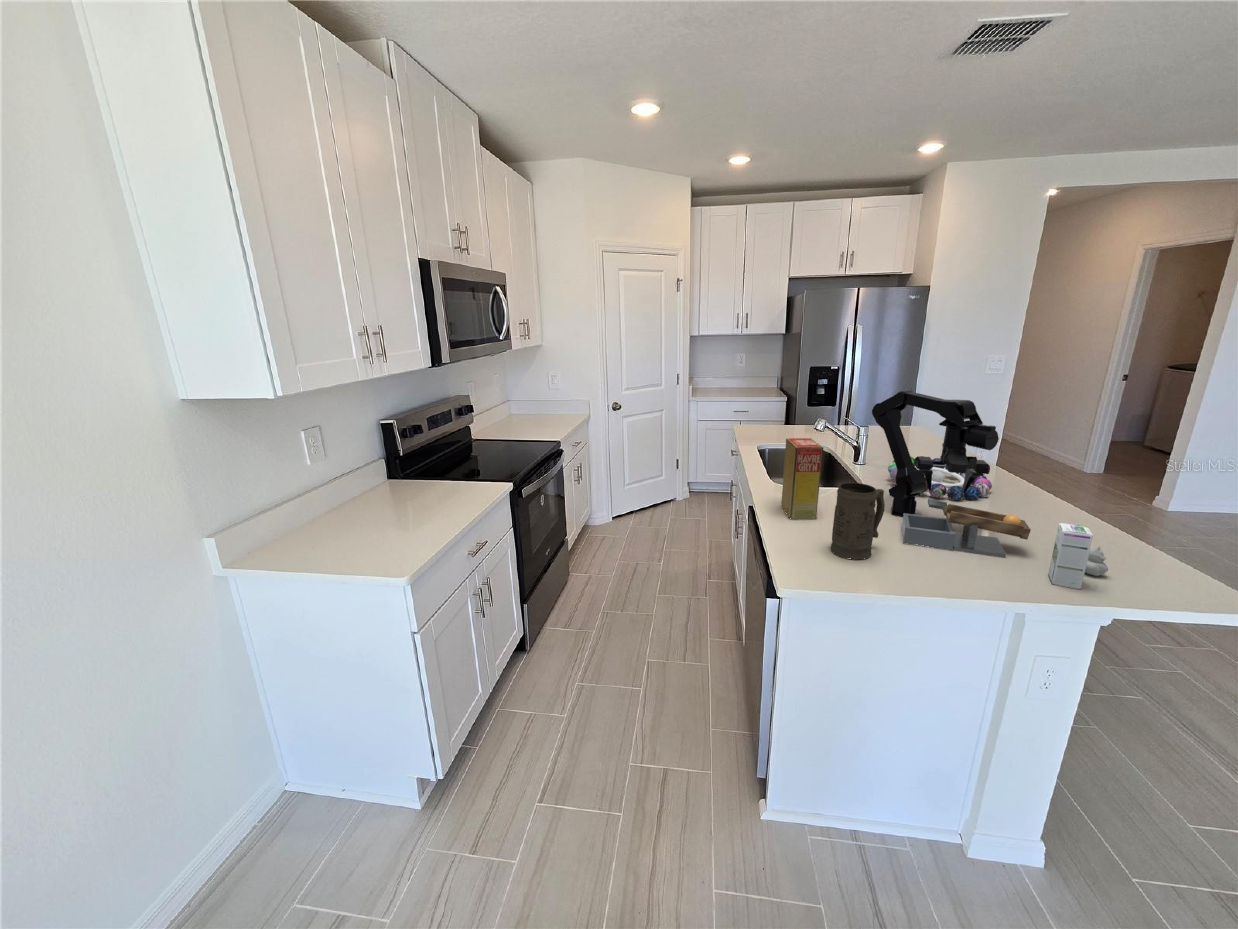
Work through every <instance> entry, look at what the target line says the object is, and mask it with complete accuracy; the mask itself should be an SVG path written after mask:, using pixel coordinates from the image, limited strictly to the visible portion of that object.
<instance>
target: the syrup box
mask: <svg viewBox="0 0 1238 929" xmlns="http://www.w3.org/2000/svg"><path fill="white" fill-rule="evenodd" d="M1056 531H1057V532H1056V535H1055V536H1056V537H1055V540H1054V545H1053V550H1052V555H1051V559H1050V564H1049V568H1048V574H1047V575H1048V578H1049V580H1050V583H1051V584H1052V585H1056V586H1060V587H1065V588H1069V589H1070V588H1071V589H1076V590H1081V589H1082V585H1083V582H1084V578H1085V574H1086V573H1085V569H1086V565H1087V560H1088V556H1089V551H1090V550H1091V545H1092V541H1093V537H1094V535H1093V533H1092V531H1091V530H1090V529H1089V527H1088V526H1086V525H1079V524H1074V523H1073V524H1072V523H1062V522H1058V527H1057V530H1056Z"/></svg>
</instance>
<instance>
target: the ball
mask: <svg viewBox="0 0 1238 929" xmlns="http://www.w3.org/2000/svg"><path fill="white" fill-rule="evenodd" d="M1006 515H1007V514H1006ZM1021 520H1022V519H1020V517H1019V516H1017V515H1014V514H1008V515H1007V516H1005V517H1004V519H1003V522H1008V523H1013V524H1018V525H1020V524H1021Z"/></svg>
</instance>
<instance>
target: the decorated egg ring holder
mask: <svg viewBox="0 0 1238 929" xmlns="http://www.w3.org/2000/svg"><path fill="white" fill-rule="evenodd" d="M910 457H911V460H912V463H913V465H914V461H915V458H914V457H913V456H912V455H910ZM921 457H925V456H923V455H921ZM932 460H934V461H940V460H941V459H940V457H936V458H933V459H932ZM888 464H889V463H888ZM914 467H915V468H916V466H915V465H914ZM918 470H920V469H918ZM931 470H932V471H933V473H932V483H931V490H928V486H927V482H926V487H925V489H924V491H922V492H921V494H923V493H926V492H927V491H928V493H929V494H930V496H931V497H933V498H936V499H941V498H943V497H945V496H946V495H947V498H949V499H950V500H951V501H960V500H962V499H963V498H964V500H967V501H975V500H977V499H979V498H980V499H981V498H985V497H987V496H988V495H989V494H990V491H991V489H992V488H993V483H992V482H991V481H990V480H989V479H988V477H987V476H986V474H984V475H983V476H979V477H977V478H976V479H975V480H974V481H973V482H972V483H971V485H970V486H969V488H968V489H967V491H966V492H965V493H963V484H964V479H965V475H966V473H958V472H954V473H951V472H949V471H948V470H947V467H933V468H932V469H931ZM887 471H888V473H889V476H890V478H891V479H892V480H893V481H895V482H896V474H897V467H896V464H895V461H894V460H893V461H892V462H891V463H890V464H889V465H887ZM945 475H948V476H951V477H953V478H955V479H957V480H958V481H959V482H957V483H945V482H944V481H945V478H946V477H945Z"/></svg>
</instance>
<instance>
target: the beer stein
mask: <svg viewBox="0 0 1238 929" xmlns="http://www.w3.org/2000/svg"><path fill="white" fill-rule="evenodd" d="M836 494H837V496H836V504H835V507H834V514H833V515H834V516H833V522H832V523H833V524H832V526H833V527H832V532H831V544H830V551H831V552H832V553H833V552H834V553H835V554H834V553H833V554H834V555H836V556H838V555H839V556H838V557H840V556H841V558H843V557H844V558H843V559H846V558H851V559H850V560H853V559H862V560H865V559H864V558H867V559H869V558H870V557H871V556H872V545H873V539H875V538H876V539H877V538H879V532H878V527H879V524H880V523H881V522H882V519H883V516H884V513H885V498H884V494H885V489H883V488H882V489H881V488H880V489H879V488H875V487H874V486H872V485H868V484H866V483H865V484H864V483H860V482H859V483H858V482H843V483H841V484H838V488H837V490H836ZM875 509H876V510H875Z"/></svg>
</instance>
